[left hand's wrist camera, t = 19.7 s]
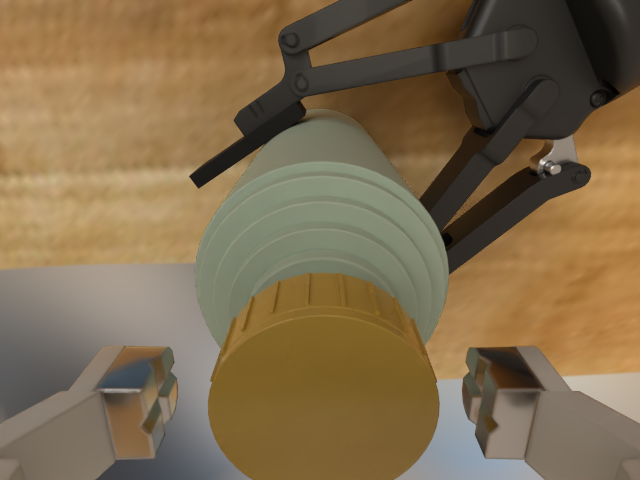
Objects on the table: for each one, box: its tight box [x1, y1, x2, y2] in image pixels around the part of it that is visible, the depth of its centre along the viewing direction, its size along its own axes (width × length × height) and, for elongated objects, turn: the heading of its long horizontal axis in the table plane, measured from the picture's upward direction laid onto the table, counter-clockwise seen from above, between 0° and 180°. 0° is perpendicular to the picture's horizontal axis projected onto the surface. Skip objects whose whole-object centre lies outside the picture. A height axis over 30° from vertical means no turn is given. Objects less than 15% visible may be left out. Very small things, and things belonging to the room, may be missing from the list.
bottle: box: [195, 108, 449, 348], centre depth 19 cm, size 8×8×22 cm
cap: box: [208, 272, 439, 480], centre depth 9 cm, size 5×5×2 cm
